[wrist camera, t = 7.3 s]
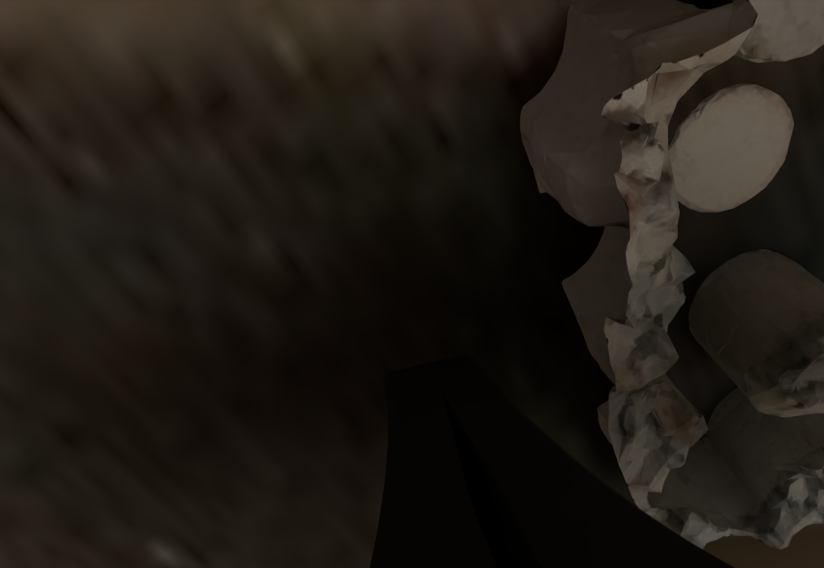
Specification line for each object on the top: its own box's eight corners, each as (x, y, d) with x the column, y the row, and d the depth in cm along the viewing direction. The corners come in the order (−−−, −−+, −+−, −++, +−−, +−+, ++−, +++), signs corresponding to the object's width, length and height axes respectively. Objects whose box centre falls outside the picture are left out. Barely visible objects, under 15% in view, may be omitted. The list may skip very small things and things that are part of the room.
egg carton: (473, 2, 10) (594, 89, 7) (964, -174, 11) (1315, -173, 7) (582, 481, 16) (676, 653, 13) (895, 363, 17) (1068, 503, 13)
